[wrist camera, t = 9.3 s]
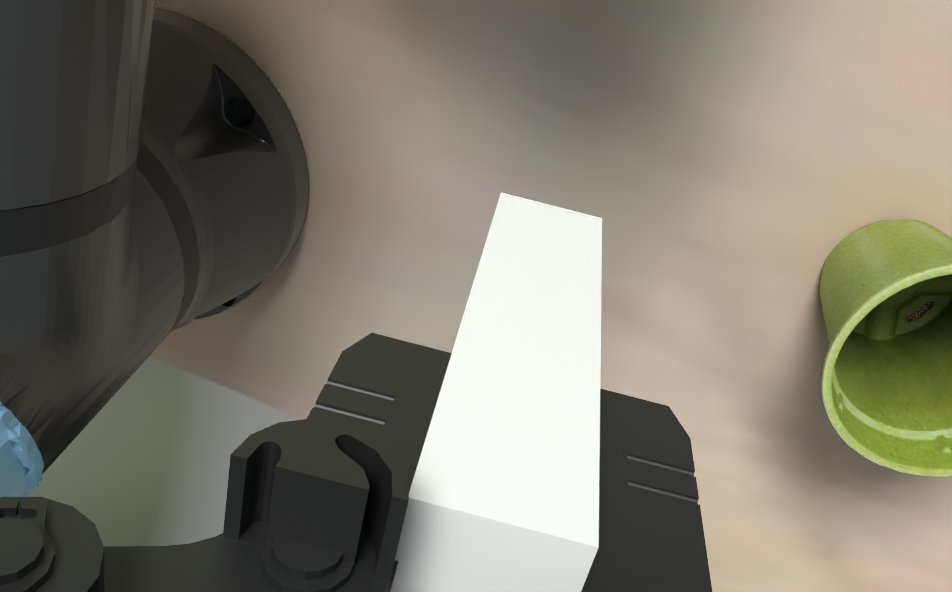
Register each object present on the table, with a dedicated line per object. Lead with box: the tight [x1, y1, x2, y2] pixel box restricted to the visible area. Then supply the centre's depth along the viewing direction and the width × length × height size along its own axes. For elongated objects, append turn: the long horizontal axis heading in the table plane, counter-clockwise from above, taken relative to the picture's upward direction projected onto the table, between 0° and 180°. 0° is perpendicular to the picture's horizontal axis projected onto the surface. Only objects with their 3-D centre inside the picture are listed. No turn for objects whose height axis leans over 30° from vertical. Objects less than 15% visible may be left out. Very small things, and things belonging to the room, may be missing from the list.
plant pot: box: [820, 220, 952, 477], centre depth 36 cm, size 9×9×9 cm
